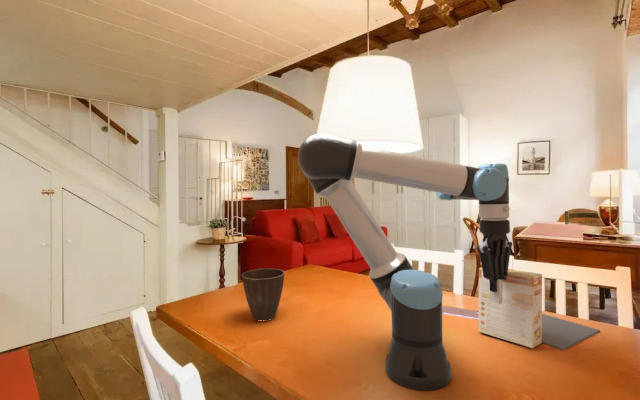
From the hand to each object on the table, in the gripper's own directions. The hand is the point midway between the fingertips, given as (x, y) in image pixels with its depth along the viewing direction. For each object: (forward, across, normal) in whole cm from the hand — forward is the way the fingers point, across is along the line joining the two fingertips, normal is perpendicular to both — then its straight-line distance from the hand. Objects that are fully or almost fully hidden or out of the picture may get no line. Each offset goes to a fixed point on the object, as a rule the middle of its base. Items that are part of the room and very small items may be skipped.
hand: (496, 302), depth 93 cm
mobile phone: (+12, +12, +20) cm, 26 cm away
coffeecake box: (+12, +6, 0) cm, 13 cm away
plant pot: (+11, -50, +55) cm, 75 cm away
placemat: (+12, +21, -1) cm, 24 cm away
